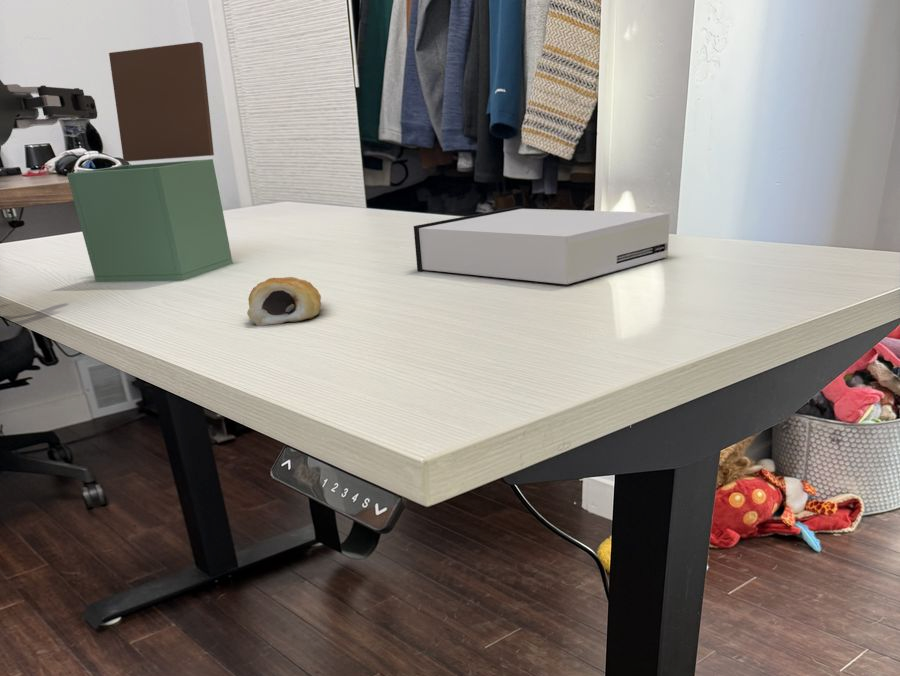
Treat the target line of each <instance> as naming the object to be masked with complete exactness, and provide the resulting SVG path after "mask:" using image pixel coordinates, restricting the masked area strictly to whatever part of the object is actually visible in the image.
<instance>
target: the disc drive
mask: <svg viewBox="0 0 900 676" xmlns="http://www.w3.org/2000/svg"><path fill="white" fill-rule="evenodd" d="M670 219H671V213H670V212H645V211H644V212H643V211H612V210H609V211H608V210H577V209H541V208H524V207H523V206H521V205H519V206H514V207H508V208H503V209H497V210H492V211H487V212H481V213H476V214H470V215H465V216H460V217H454V218H449V219H443V220H438V221H433V222H428V223H423V224H416V225H413V236H414V237H413V238H414V248H415V259H416V260H415V261H416V271H417V272H418V273H422V272H426V271H433V272H442V273H450V274H451V273H453V274H461V275H472V276H482V277H490V278H500V279H511V280H520V281H530V282H540V283H550V284H559V285H571V284H573V283H577V282H581V281H585V280H588V279H592V278H596V277H599V276H602V275H607V274H610V273H614V272H618V271H621V270H625V269H628V268H632V267H636V266H640V265H643V264H646V263H647V264H648V263H650V262H654V261H657V260H661V259H664V258H668V256H669V240H670Z"/></svg>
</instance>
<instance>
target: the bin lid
mask: <svg viewBox="0 0 900 676" xmlns="http://www.w3.org/2000/svg"><path fill="white" fill-rule="evenodd" d="M108 56H109V64H110V71H111V78H112V87H113V93H114V94H113V95H114V101H115V108H116V115H117V116H116V117H117V122H118V128H119V129H118V131H119V139H120V146H121V151H122V152H121V154H122V159H123V162H126V163H129V162H142V161H143V162H145V161H156V160H157V161H158V160H171V159H183V158H195V157H196V158H198V157H209V156H210V157H212V156H215V153H214V152H215V151H214V142H213V132H212V124H211V114H210V113H211V112H210V103H209V93H208V83H207V74H206V65H205V53H204V45H203V43H202V42H200V41H195V42H185V43H177V44H170V45H162V46H161V45H160V46H152V47H143V48H138V49H137V48H136V49H129V50H121V51H113V52H109V53H108Z"/></svg>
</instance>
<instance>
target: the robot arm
mask: <svg viewBox="0 0 900 676" xmlns="http://www.w3.org/2000/svg"><path fill="white" fill-rule="evenodd" d="M33 95H38V96H33ZM39 109H41V110H42V114H43V116H44V117H45V118H39V116H40V112H39ZM97 118H98V109H97V106H96V101H95V99H94V98H93V96H92V95H88V94H86V95H85V92H84V89H83V88H82V89H81V88H79V87H75V88H68V87H54V86H46V85H40V86H21V85H20V84H16V83H11V84H9V83H8V84H5V83H4V82H3V81H2V80H1V79H0V148H1V147H2V146H4V145H5V144H6V143H7V142H8V140H9V139H10V138H11V136H12V133H13V130H26V129H28V128H31V127H38V126H39V127H40V126H43V127H44V126H53V125H56V124H57V123H58V122H59V120H70V121H77V120H96V119H97Z"/></svg>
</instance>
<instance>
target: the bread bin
mask: <svg viewBox="0 0 900 676" xmlns="http://www.w3.org/2000/svg"><path fill="white" fill-rule="evenodd" d="M216 173H217V172H216V169H215V163H214V158H210V159H209V158H208V159H197V160H181V161H180V160H179V161H168V162H152V163H139V164H138V163H137V164H124V165H117V166H112V167H111V166H110V167H104V168H97V169H89V170H83V171H74V172H68V173H66V177H67V180H68V184H69V188H70V192H71V196H72V199H73V203H74V206H75V210H76V213H77V217H78V221H79V224H80V229H81V233H82V236H83V240H84V243H85V247H86V251H87V255H88V258H89V262H90V266H91V270H92V273H93V277H94V282H96V283H118V282H119V283H120V282H124V283H125V282H127V283H128V282H167V281H168V282H174V281H175V282H177V281H181V282H182V281H187V280H190V279H192V278H195V277H198V276H201V275H204V274H207V273H210V272H212V271H213V272H214V271H215V270H219V269H222V268H224V267H227V266H230V265H233V264H234V262H233V259H232V258H233V257H232V252H231V246H230V242H229V241H230V240H229V236H228V231H227V225H226V221H225V215H224V210H223V204H222V200H221V195H220V194H221V193H220V189H219V184H218V180H217V179H218V178H217V174H216Z"/></svg>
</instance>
